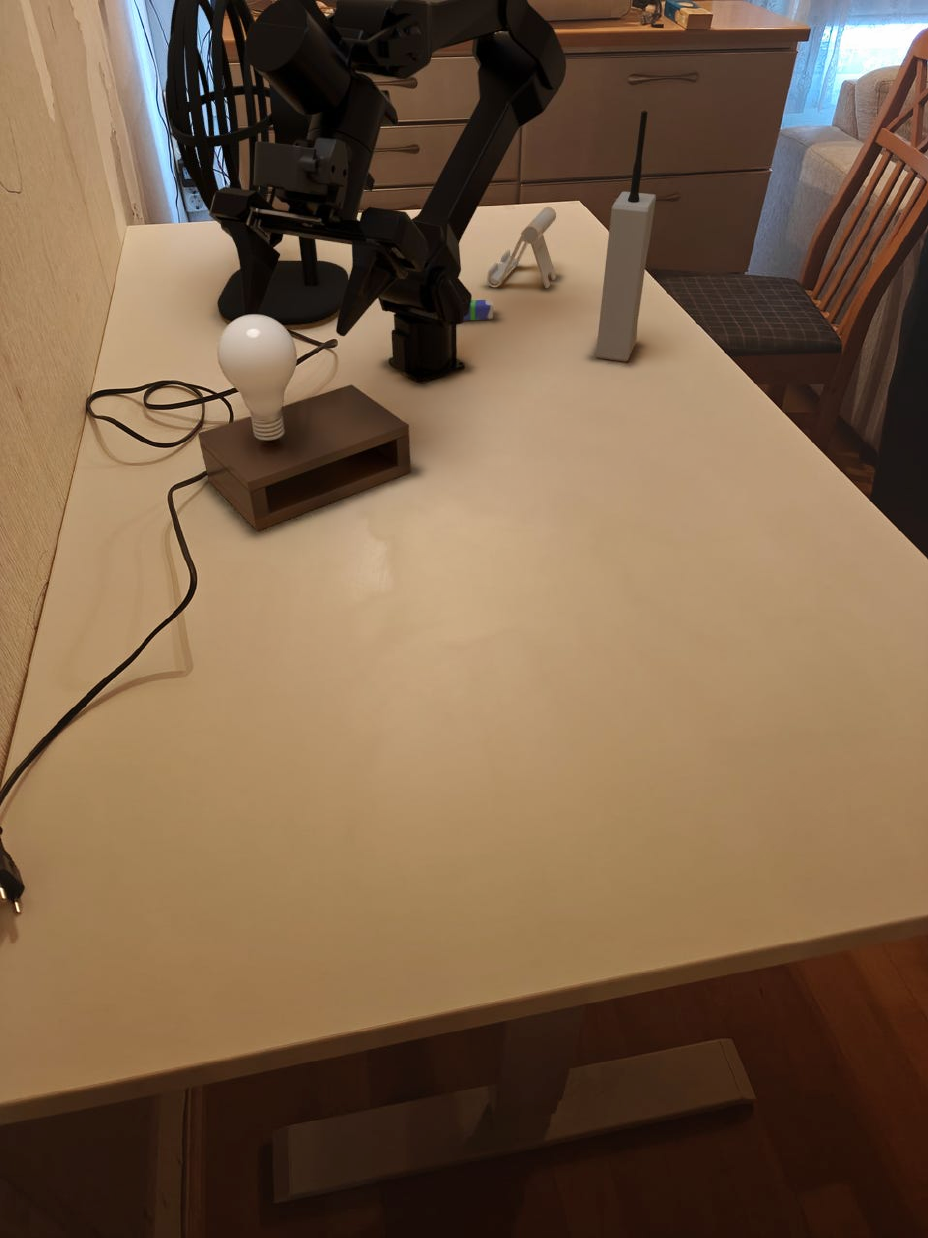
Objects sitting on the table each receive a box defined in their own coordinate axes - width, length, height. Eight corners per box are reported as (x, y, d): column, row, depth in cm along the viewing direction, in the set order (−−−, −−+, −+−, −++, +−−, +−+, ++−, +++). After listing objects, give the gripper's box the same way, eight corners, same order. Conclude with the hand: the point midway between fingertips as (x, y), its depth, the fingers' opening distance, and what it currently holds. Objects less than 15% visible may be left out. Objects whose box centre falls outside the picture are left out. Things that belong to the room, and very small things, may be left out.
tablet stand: (506, 265, 123) (508, 202, 117) (560, 272, 121) (565, 208, 115) (486, 286, 117) (488, 221, 111) (543, 294, 115) (547, 228, 109)
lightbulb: (269, 466, 73) (250, 341, 66) (218, 442, 76) (194, 319, 69) (321, 436, 77) (308, 314, 70) (271, 414, 80) (253, 295, 73)
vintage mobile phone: (635, 345, 103) (668, 104, 86) (627, 363, 99) (660, 115, 83) (604, 341, 104) (631, 102, 87) (595, 358, 100) (621, 112, 84)
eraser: (493, 320, 108) (494, 304, 107) (446, 322, 108) (445, 306, 106) (491, 313, 110) (491, 297, 109) (443, 316, 109) (443, 300, 108)
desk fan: (233, 260, 124) (180, -48, 101) (356, 261, 124) (331, -48, 101) (187, 341, 104) (107, -23, 80) (334, 341, 104) (297, -22, 80)
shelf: (355, 429, 88) (351, 383, 85) (411, 472, 82) (409, 424, 79) (208, 480, 81) (197, 432, 77) (257, 531, 75) (247, 482, 71)
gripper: (194, 80, 70) (146, 271, 70) (402, 100, 64) (348, 307, 65) (266, 156, 80) (224, 321, 81) (450, 178, 75) (403, 356, 75)
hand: (293, 325), depth 75 cm, fingers open, 9 cm apart
